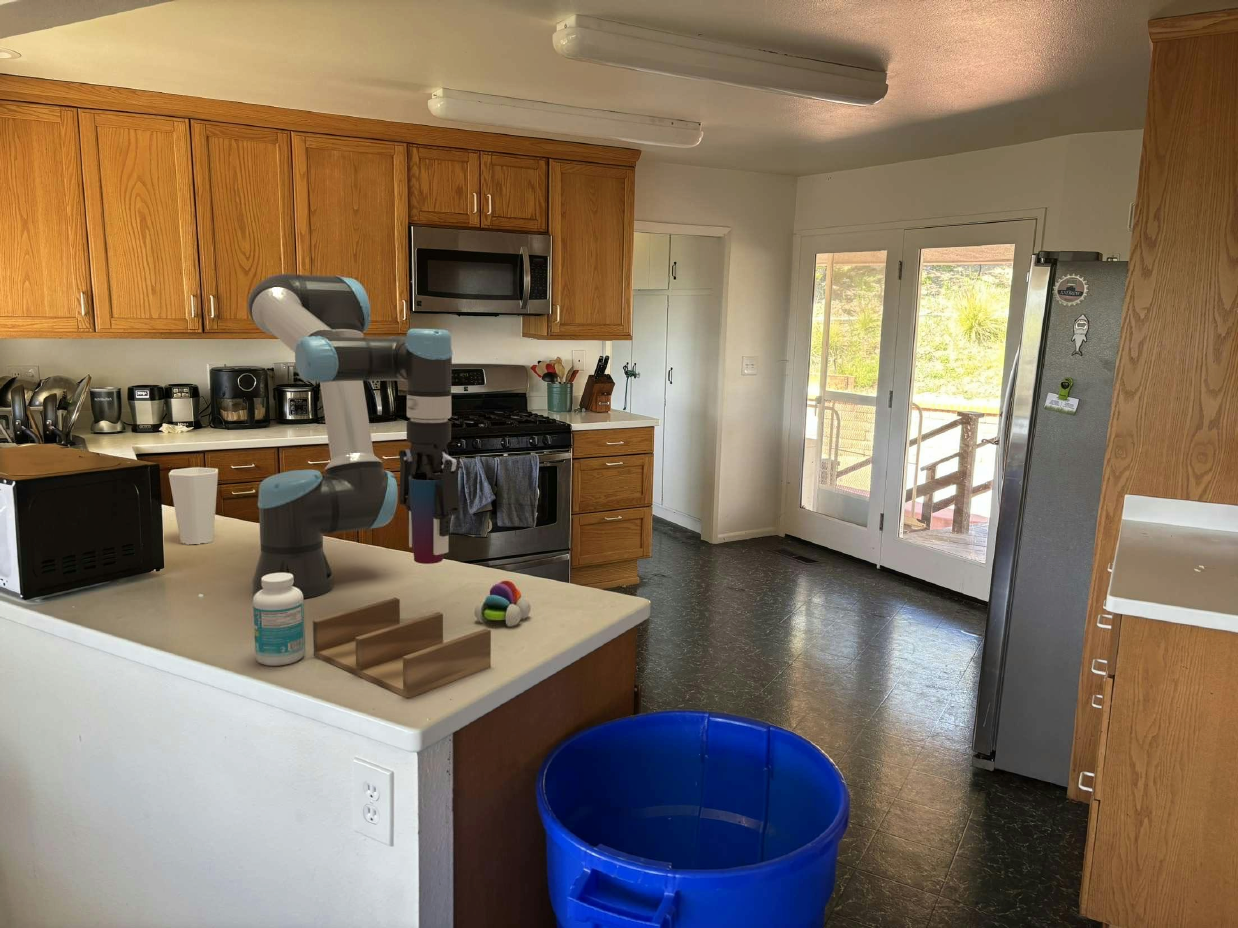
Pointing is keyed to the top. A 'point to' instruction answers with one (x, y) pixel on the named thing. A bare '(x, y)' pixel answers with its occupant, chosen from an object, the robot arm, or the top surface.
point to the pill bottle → (278, 621)
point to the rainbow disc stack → (503, 605)
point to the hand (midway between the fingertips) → (428, 549)
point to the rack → (398, 648)
